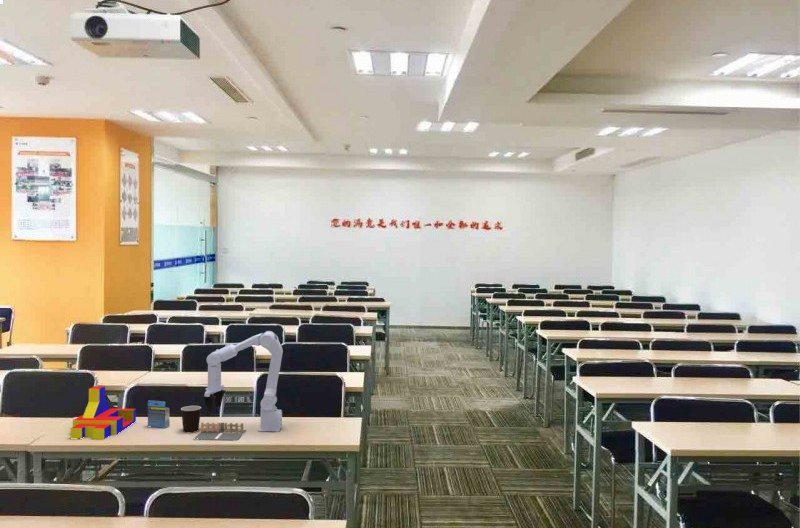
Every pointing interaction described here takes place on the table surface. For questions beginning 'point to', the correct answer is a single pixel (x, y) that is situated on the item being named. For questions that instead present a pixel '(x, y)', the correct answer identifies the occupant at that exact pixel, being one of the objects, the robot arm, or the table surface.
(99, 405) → the building blocks toy
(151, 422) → the label tape box
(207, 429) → the fence panel
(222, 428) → the fixed fence
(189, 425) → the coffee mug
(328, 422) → the table surface
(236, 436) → the mat
